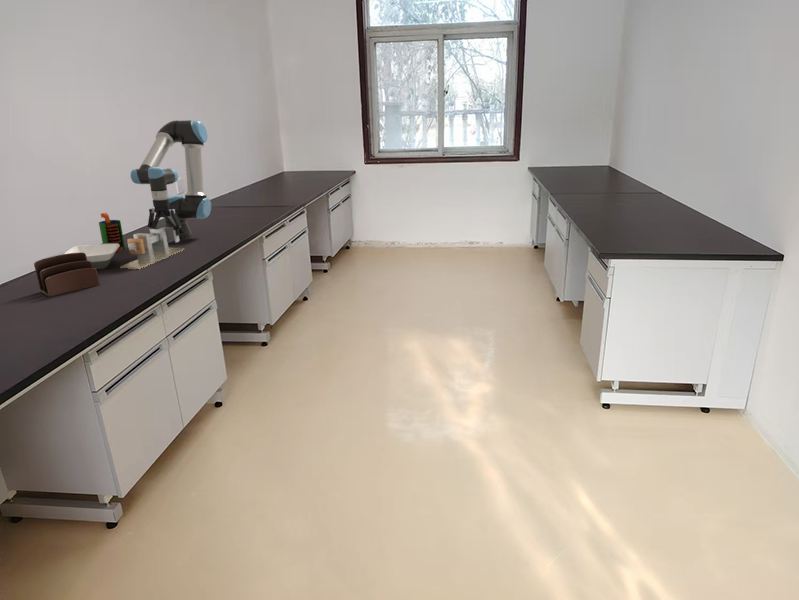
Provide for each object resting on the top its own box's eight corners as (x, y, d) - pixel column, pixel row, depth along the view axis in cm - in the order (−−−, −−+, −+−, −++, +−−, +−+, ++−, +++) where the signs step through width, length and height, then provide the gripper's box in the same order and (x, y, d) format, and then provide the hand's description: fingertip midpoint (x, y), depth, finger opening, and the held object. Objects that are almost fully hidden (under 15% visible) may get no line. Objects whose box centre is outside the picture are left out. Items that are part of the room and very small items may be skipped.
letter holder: (40, 292, 223) (32, 259, 219) (91, 280, 238) (84, 249, 233) (49, 297, 217) (40, 264, 212) (100, 285, 231) (93, 253, 227)
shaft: (128, 254, 255) (125, 240, 252) (166, 239, 282) (164, 226, 279) (137, 255, 254) (134, 240, 251) (175, 240, 281) (173, 227, 278)
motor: (114, 253, 279) (107, 215, 272) (99, 253, 281) (92, 215, 274) (127, 248, 288) (120, 211, 281) (113, 248, 290) (106, 211, 283)
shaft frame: (120, 268, 254) (115, 239, 249) (167, 249, 287) (163, 223, 282) (139, 269, 252) (133, 240, 247) (184, 250, 285) (180, 224, 280)
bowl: (62, 275, 244) (58, 257, 241) (76, 262, 265) (72, 245, 262) (115, 271, 250) (112, 254, 247) (125, 258, 270) (122, 242, 267)
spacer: (129, 253, 257) (127, 239, 255) (132, 252, 259) (130, 238, 257) (142, 254, 256) (140, 239, 253) (145, 253, 258) (142, 238, 255)
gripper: (135, 199, 270) (142, 241, 277) (176, 200, 265) (183, 244, 272) (145, 196, 277) (152, 238, 284) (185, 198, 272) (191, 240, 279)
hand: (167, 241), depth 278 cm, fingers open, 11 cm apart
